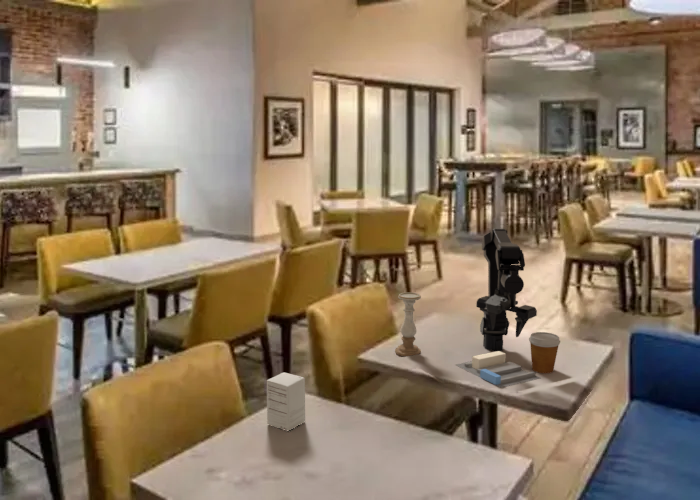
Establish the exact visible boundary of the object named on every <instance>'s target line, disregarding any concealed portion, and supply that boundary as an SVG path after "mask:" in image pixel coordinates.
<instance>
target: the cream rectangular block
mask: <svg viewBox="0 0 700 500" xmlns="http://www.w3.org/2000/svg"><path fill="white" fill-rule="evenodd" d="M506 355H507V354H506V353H505V352H503V351H492V352H488V353H487V352H486V353H483V354H478V355H474V356H473V355H472V357H471V359H472V360H471V361H472V367H473V368H475V369H479V368H484V367H488V366H493V365H497V364H502V363H505V362H506Z"/></svg>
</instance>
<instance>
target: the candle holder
mask: <svg viewBox="0 0 700 500" xmlns="http://www.w3.org/2000/svg"><path fill="white" fill-rule="evenodd" d="M421 297H422V296H421V294H420V293H416V292H407V291H406V292H401V293H399V294H398V296H397V298H398V299H399V300H402V302H403V304H404V308H403V312H404V320H403V322H402V324H401V327H400V333H401V335H402V336H401V337H400V338H401V341H402V344H400V345H398V346H397V347H395V349H394V353H395V354H396V355H397V356H400V357H410V356H416V355H421V353H422V350H421V348H419V346H417V345H416V344H414V342H415V340H416V337H415V335H416V334H417V331H418V330H417V326H416V325H415V322H414V312H415V311H416V310H415V308H414V304H415V303H416V301H418V300H421Z"/></svg>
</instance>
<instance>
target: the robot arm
mask: <svg viewBox="0 0 700 500" xmlns="http://www.w3.org/2000/svg"><path fill="white" fill-rule="evenodd" d="M481 241H482V242H481V250H482V251H483V257H484V258H485V261H486V262H487V263H488V264H487V265H488V266H487V267H488V268H487V269H488V271H487V273H488V274H487V275H488V276H487V277H488V278H487V281H488V283H487V284H488V285H487V286H488V287H487V288H488V291H487V292H488V295H485V296H481V297H479V298H478V299H477V300H476V303H475V304H476V308H479V311H480V312H481V311H482V312H483V317H482V318H481V320H480V321H481V322H480V325H479V330H480V334H481V336H483V341H482V343H483V344H482V346H483V348H484V349H485V350H487V351H492V352H496V351H500V352H503V349H504V339H503V338H504V336H507V335H508V333H509V328H510V327H509V326H510V321H509V319H508V317H507V311H509V312H511V313H515V315H516V316H515V317H514V319H515V321H516V323H515V324H516V325H515V338H518V337H519V336H520V335H521V332H522V331H523V329H524V327H525V326H526V324H527V322H528V321H529V320H530V319H532V318H534V317H537V315H538V312H537V308H536V306H533V305H532V306H531V305H528V304H524V305H522V306H517V305H518V304H519V301H518V300H517V294H520V293H521V292H522V291H523V289H524V287H525V286H524V285H525V282H524V280H523V278H522V277H521V276H520V274H519V271H520V272H521V271H524V269H525V266H526V263H525V254H524V252H523V249H521V248H520V245H519V244H517V243H513V242H512V240H511V239H510V237H509V235H508V229H505V228H493V229H492V228H491V230H490V232H488V233H487V234H484V236H483V237H482V240H481Z"/></svg>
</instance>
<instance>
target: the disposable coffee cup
mask: <svg viewBox="0 0 700 500" xmlns="http://www.w3.org/2000/svg"><path fill="white" fill-rule="evenodd" d="M528 340H529V343H530V344H529V345H530V354H531V356H530V357H531V369H532V372H535V373H540V374H551V373H553V372H554V368H555V364H556V359H557V355H558V350H559V345H560V343H561V340H560V337H559V335H557V334H554V333H553V332H545V331H542V332H541V331H538V332H537V331H536V332H532V333H531V334H530V335H529V338H528Z"/></svg>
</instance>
